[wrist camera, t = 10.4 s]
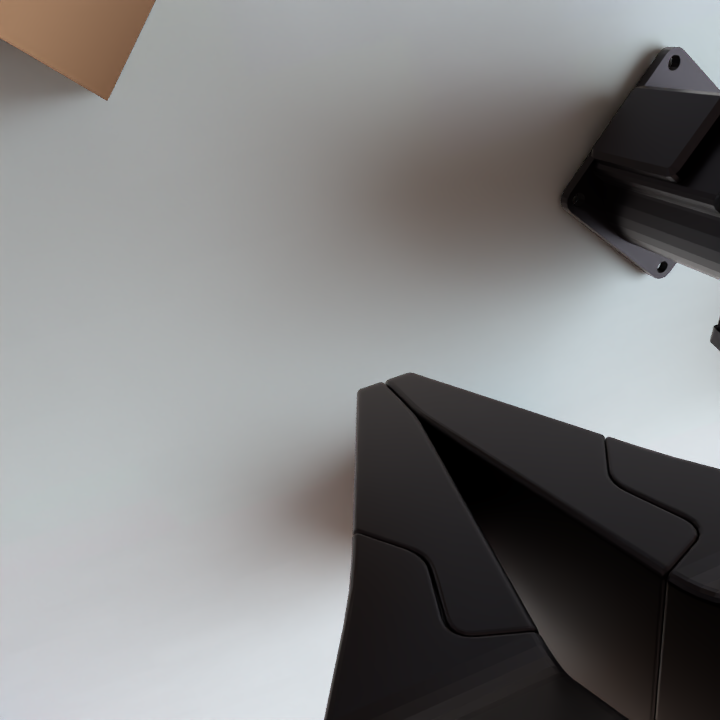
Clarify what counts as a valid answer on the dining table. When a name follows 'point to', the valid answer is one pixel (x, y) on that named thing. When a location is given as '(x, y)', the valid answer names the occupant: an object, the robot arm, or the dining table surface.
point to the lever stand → (76, 36)
